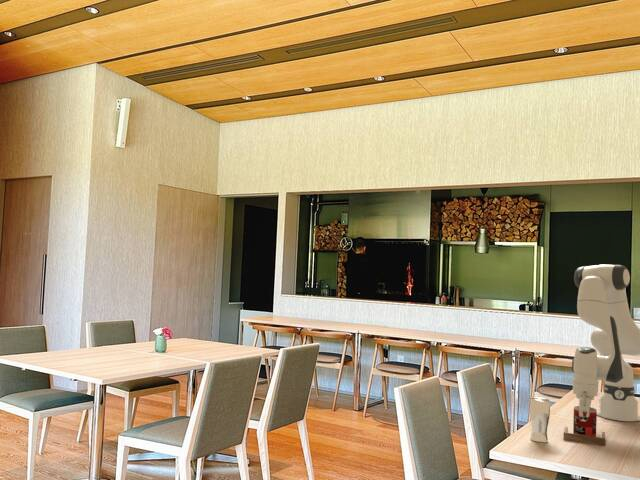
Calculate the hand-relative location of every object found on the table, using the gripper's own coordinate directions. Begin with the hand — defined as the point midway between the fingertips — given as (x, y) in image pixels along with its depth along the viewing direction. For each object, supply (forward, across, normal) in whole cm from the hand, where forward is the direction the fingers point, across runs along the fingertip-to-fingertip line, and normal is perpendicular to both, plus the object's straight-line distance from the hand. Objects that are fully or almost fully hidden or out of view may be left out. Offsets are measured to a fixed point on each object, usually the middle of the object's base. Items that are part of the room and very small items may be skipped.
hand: (584, 425), depth 232 cm
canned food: (+3, -6, 0) cm, 7 cm away
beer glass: (+3, -20, +15) cm, 25 cm away
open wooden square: (+3, -8, 0) cm, 9 cm away
